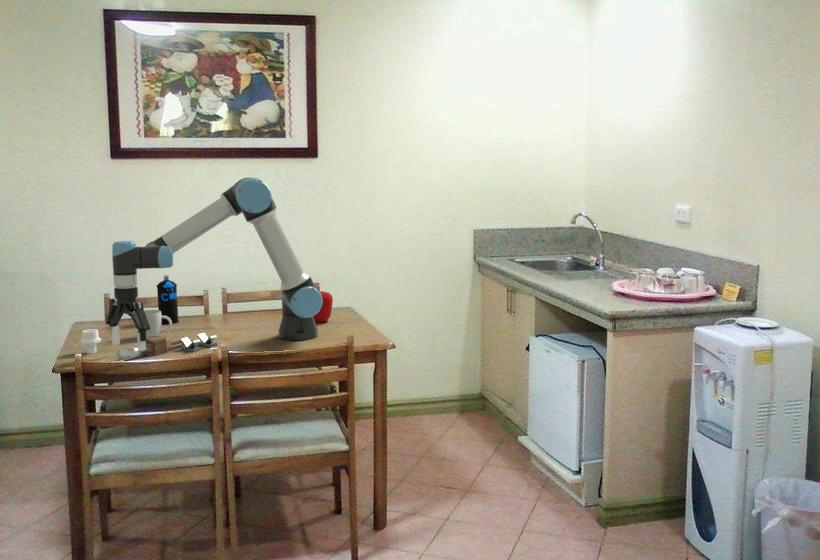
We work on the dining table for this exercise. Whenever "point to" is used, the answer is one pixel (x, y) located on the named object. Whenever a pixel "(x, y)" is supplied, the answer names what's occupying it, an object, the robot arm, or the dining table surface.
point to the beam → (161, 345)
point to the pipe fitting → (90, 340)
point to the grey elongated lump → (131, 353)
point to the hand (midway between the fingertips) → (128, 347)
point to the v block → (198, 343)
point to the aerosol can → (168, 300)
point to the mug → (156, 322)
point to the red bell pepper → (324, 308)
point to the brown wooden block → (150, 344)
